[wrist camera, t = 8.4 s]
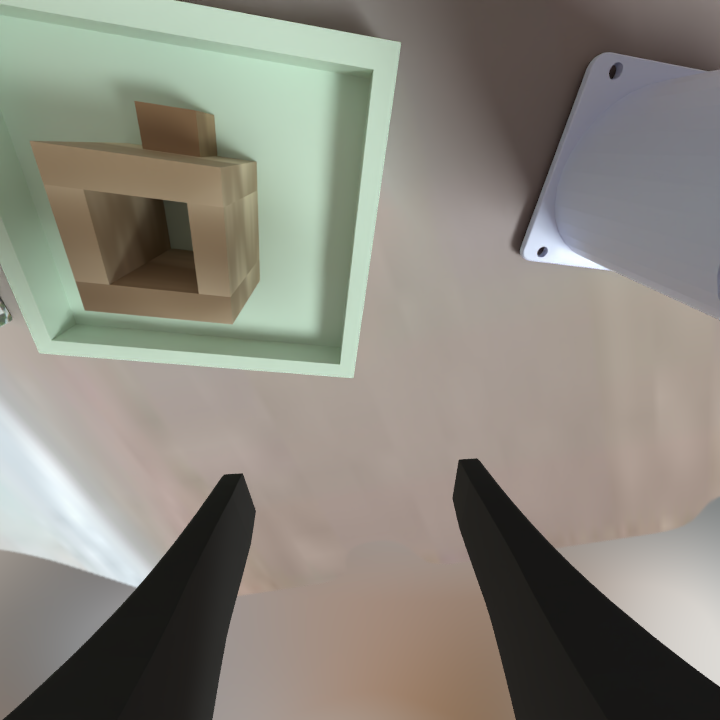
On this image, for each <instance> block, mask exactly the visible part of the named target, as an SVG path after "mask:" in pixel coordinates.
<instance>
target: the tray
mask: <svg viewBox="0 0 720 720" xmlns="http://www.w3.org/2000/svg"><path fill="white" fill-rule="evenodd" d="M400 48H401V42H397V41H391V40H386V39H381V38H375V37H370V36H364V35H359V34H354V33H348V32H343V31H337V30H332V29H327V28H321V27H316V26H311V25H305V24H300V23H294V22H289V21H284V20H278V19H273V18H267V17H262V16H257V15H251V14H246V13H241V12H235V11H230V10H224V9H219V8H214V7H208V6H203V5H197V4H192V3H187V2H181V1H176V0H0V264H1V267H2V269H3V271H4V273H5V276H6V278H7V280H8V283H9V285H10V287H11V289H12V292H13V294H14V296H15V299H16V301H17V303H18V305H19V308H20V310H21V312H22V315H23V317H24V319H25V321H26V324H27V326H28V328H29V331H30V333H31V335H32V337H33V340H34V342H35V344H36V347H37V349H38V351H39V353H42V354H55V355H67V356H80V357H93V358H105V359H118V360H130V361H143V362H156V363H168V364H181V365H193V366H206V367H219V368H231V369H244V370H257V371H269V372H282V373H294V374H307V375H320V376H332V377H345V378H353V377H354V370H355V363H356V356H357V349H358V342H359V335H360V328H361V321H362V314H363V307H364V300H365V293H366V286H367V279H368V272H369V265H370V258H371V251H372V244H373V237H374V230H375V223H376V216H377V209H378V202H379V195H380V188H381V181H382V174H383V167H384V160H385V153H386V146H387V139H388V132H389V125H390V118H391V111H392V104H393V97H394V90H395V83H396V76H397V69H398V62H399V55H400ZM134 101H139V102H145V103H152V104H158V105H164V106H171V107H177V108H184V109H190V110H196V111H200V112H204V113H208V114H212V115H214V119H215V131H216V143H217V156H221V157H228V158H235V159H242V160H249V161H256V162H257V190H258V225H259V260H260V281H259V283H258V285H257V286H256V288H255V289H254V291H253V293H252V294H251V296H250V297H249V299H248V301H247V302H246V304H245V305H244V307H243V309H242V310H241V312H240V313H239V315H238V317H237V318H236V320H235V321H234V323H233V324H223V323H212V322H201V321H191V320H180V319H170V318H159V317H148V316H138V315H127V314H116V313H106V312H95V311H85V310H84V307H83V304H82V300H81V297H80V294H79V291H78V288H77V285H76V282H75V279H74V276H73V273H72V270H71V267H70V264H69V261H68V258H67V255H66V252H65V248H64V245H63V242H62V239H61V236H60V233H59V230H58V227H57V224H56V221H55V218H54V215H53V212H52V209H51V206H50V203H49V200H48V197H47V193H46V190H45V187H44V184H43V181H42V178H41V175H40V172H39V169H38V166H37V163H36V160H35V157H34V154H33V151H32V148H31V145H30V141H61V142H109V143H130V144H137V145H142V141H141V136H140V130H139V124H138V119H137V113H136V108H135V102H134ZM163 202H164V208H165V214H166V220H167V227H168V233H169V239H170V245H171V248H172V249H180V250H189V251H193V246H192V238H191V230H190V223H189V215H188V207H187V203H184V202H176V201H169V200H163Z"/></svg>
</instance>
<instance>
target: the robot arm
mask: <svg viewBox="0 0 720 720" xmlns="http://www.w3.org/2000/svg"><path fill="white" fill-rule="evenodd" d="M612 65H615V67H616V73H615V75H614V77H613V78H612V79H610V77H609V71H610V69H611V67H612ZM541 247H544V250H543V252H542V253H541V254H540V255H537V251H538V250H539V249H540V248H541ZM520 255H521V256H522V258H524V259H525V260H528V261H535V262H544V263H552V264H560V265H568V266H576V267H585V268H593V269H601V270H609V271H614V272H616V273H618V274H620V275H622V276H625V277H627V278H629V279H631V280H633V281H636V282H638V283H640V284H642V285H644V286H646V287H649V288H651V289H653V290H655V291H657V292H660V293H662V294H664V295H666V296H668V297H670V298H673V299H675V300H677V301H679V302H681V303H684V304H686V305H688V306H690V307H692V308H694V309H697V310H699V311H701V312H703V313H705V314H707V315H710V316H712V317H714V318H716V319H718V320H720V69H719V70H714V71H704V70H699V69H694V68H689V67H684V66H679V65H673V64H668V63H663V62H658V61H653V60H648V59H643V58H638V57H633V56H627V55H622V54H617V53H612V52H605V53H602V54H600V55H598V56H596V57H595V58H594V59H593V60H592V61H591V62H590V63H589V65H588V67H587V70H586V72H585V75H584V78H583V80H582V83H581V86H580V88H579V91H578V94H577V97H576V99H575V102H574V105H573V107H572V110H571V113H570V115H569V118H568V121H567V124H566V126H565V129H564V132H563V134H562V137H561V140H560V142H559V145H558V148H557V151H556V153H555V156H554V159H553V161H552V164H551V167H550V169H549V172H548V175H547V178H546V180H545V183H544V186H543V188H542V191H541V194H540V197H539V199H538V202H537V205H536V207H535V210H534V213H533V215H532V218H531V221H530V224H529V226H528V229H527V232H526V234H525V237H524V240H523V242H522V245H521V248H520ZM453 502H454V507H455V511H456V516H457V520H458V524H459V528H460V531H461V534H462V537H463V540H464V543H465V546H466V549H467V552H468V554H469V557H470V560H471V563H472V566H473V569H474V571H475V574H476V577H477V580H478V583H479V586H480V589H481V591H482V594H483V597H484V600H485V602H486V606H487V609H488V612H489V615H490V619H491V622H492V626H493V630H494V634H495V637H496V641H497V645H498V649H499V652H500V656H501V660H502V664H503V668H504V672H505V676H506V680H507V685H508V689H509V692H510V697H511V701H512V705H513V709H514V713H515V718H516V720H720V687H719V686H718V685H717V684H715V683H714V682H712V681H711V680H709V679H708V678H707V677H705V676H704V675H703V674H701V673H700V672H699V671H697V670H696V669H695V668H693V667H692V666H691V665H689V664H688V663H687V662H685V661H684V660H683V659H682V658H680V657H679V656H678V655H676V654H675V653H674V652H672V651H671V650H670V649H669V648H668V647H666V646H665V645H663V644H662V643H661V642H660V641H659V640H657V639H656V638H655V637H653V636H652V635H651V634H650V633H649V632H647V631H646V630H645V629H644V628H643V627H641V626H640V625H639V624H638V623H637V622H635V621H634V620H633V619H632V618H631V617H629V616H628V615H627V614H626V613H624V612H623V611H622V610H621V609H620V608H619V607H617V606H616V605H615V604H614V603H613V602H611V601H610V600H609V599H608V598H607V597H606V596H605V595H604V594H602V593H601V592H600V591H599V590H598V589H597V588H596V587H595V586H594V585H592V584H591V583H590V582H589V581H588V580H587V579H586V578H585V577H584V576H583V575H582V574H581V573H579V572H578V571H577V570H576V569H575V568H574V567H573V566H572V565H571V564H570V563H569V562H568V561H567V560H566V559H565V558H564V557H563V556H562V555H561V554H560V553H559V552H558V551H557V550H556V549H555V548H554V547H553V546H552V545H551V544H550V543H549V542H548V541H547V540H546V539H545V538H544V537H543V535H542V534H541V533H540V532H539V531H538V530H537V529H536V528H535V527H534V526H533V525H532V524H531V522H530V521H529V520H528V519H527V518H526V517H525V516H524V514H523V513H522V512H521V511H520V510H519V509H518V508H517V506H516V505H515V504H514V503H513V502H512V501H511V499H510V498H509V497H508V496H507V495H506V493H505V492H504V491H503V490H502V489H501V487H500V486H499V485H498V484H497V482H496V481H495V480H494V479H493V477H492V476H491V475H490V474H489V472H488V471H487V470H486V468H485V467H484V466H483V464H482V463H481V462H480V461H479V460H478V459H462V460H459V462H458V468H457V474H456V480H455V486H454V492H453ZM255 512H256V510H255V508H254V505H253V502H252V499H251V496H250V493H249V490H248V487H247V484H246V482H245V479H244V476H243V473H242V474H227V475H224V476H223V477H222V478H221V479H220V481H219V482H218V483H217V485H216V486H215V488H214V489H213V491H212V492H211V493H210V495H209V496H208V498H207V499H206V501H205V502H204V503H203V505H202V506H201V508H200V509H199V510H198V512H197V513H196V515H195V516H194V517H193V519H192V520H191V521H190V523H189V524H188V525H187V527H186V528H185V529H184V531H183V532H182V533H181V535H180V536H179V537H178V539H177V540H176V541H175V543H174V544H173V545H172V546H171V548H170V549H169V550H168V551H167V553H166V554H165V555H164V556H163V557H162V559H161V560H160V561H159V562H158V564H157V565H156V566H155V567H154V569H153V570H152V571H151V572H150V573H149V575H148V576H147V577H146V578H145V579H144V580H143V582H142V583H141V584H140V585H139V586H138V587H137V589H136V590H135V591H134V592H133V593H132V594H131V595H130V596H129V598H128V599H127V600H126V601H125V602H124V603H123V604H122V605H121V607H119V608H118V609H117V611H116V612H115V613H114V614H113V615H112V616H111V617H110V618H109V619H108V620H107V621H106V622H105V623H104V624H103V625H102V626H101V627H100V628H99V629H98V630H97V632H95V634H94V635H93V636H92V637H91V638H90V639H89V640H88V641H87V642H86V643H85V644H84V645H83V646H82V647H81V648H80V649H79V650H78V651H77V652H76V653H74V654H73V655H72V656H71V657H70V658H69V659H68V660H67V661H66V662H65V663H64V664H63V665H62V666H61V667H60V668H59V669H58V670H57V671H55V672H54V673H53V674H52V675H51V676H50V677H49V678H48V679H47V680H46V681H45V682H44V683H43V684H42V685H41V686H39V687H38V688H37V689H36V690H35V691H34V692H33V693H32V694H31V695H30V696H29V697H28V698H27V699H25V700H24V701H23V702H22V703H21V704H20V705H19V706H18V707H17V708H16V709H15V710H13V711H12V712H11V713H10V714H9V715H7V717H5V718H4V719H3V720H212V718H213V712H214V706H215V699H216V694H217V688H218V682H219V676H220V670H221V665H222V659H223V654H224V648H225V643H226V637H227V633H228V629H229V624H230V620H231V616H232V613H233V609H234V605H235V601H236V598H237V594H238V590H239V587H240V583H241V579H242V575H243V572H244V568H245V564H246V560H247V556H248V553H249V549H250V545H251V539H252V533H253V527H254V520H255Z"/></svg>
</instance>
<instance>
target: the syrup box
mask: <svg viewBox="0 0 720 720" xmlns="http://www.w3.org/2000/svg"><path fill="white" fill-rule="evenodd" d="M11 320H12V317H11V315H10V314H9V312H8V310H7V309H6V307H5V305H4V304H3V302H2V300H1V299H0V327H1V326H3V325H5V324H6V323H8V322H10V321H11Z"/></svg>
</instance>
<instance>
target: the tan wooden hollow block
mask: <svg viewBox="0 0 720 720" xmlns="http://www.w3.org/2000/svg"><path fill="white" fill-rule="evenodd" d="M134 102H135V108H136V113H137V119H138V124H139V130H140V136H141V141H142V145H137V144H130V143H109V142H61V141H30V145H31V148H32V151H33V154H34V157H35V160H36V163H37V166H38V169H39V172H40V175H41V178H42V181H43V184H44V187H45V190H46V193H47V197H48V200H49V203H50V206H51V209H52V212H53V215H54V218H55V221H56V224H57V227H58V230H59V233H60V236H61V239H62V242H63V245H64V248H65V252H66V255H67V258H68V261H69V264H70V267H71V270H72V273H73V276H74V279H75V282H76V285H77V288H78V291H79V294H80V297H81V300H82V304H83V307H84V310H85V311H95V312H106V313H116V314H127V315H138V316H148V317H159V318H170V319H180V320H191V321H201V322H212V323H223V324H233V323H234V321H235V320H236V318H237V317H238V315H239V313H240V312H241V310H242V309H243V307H244V305H245V304H246V302H247V301H248V299H249V297H250V296H251V294H252V293H253V291H254V289H255V288H256V286H257V285H258V283H259V281H260V260H259V225H258V190H257V162H256V161H249V160H242V159H235V158H228V157H221V156H217V143H216V131H215V119H214V115H212V114H208V113H204V112H200V111H196V110H190V109H184V108H177V107H171V106H164V105H158V104H152V103H145V102H139V101H134ZM163 200H169V201H176V202H184V203H187V207H188V215H189V223H190V230H191V238H192V246H193V251H189V250H180V249H172V248H171V245H170V239H169V233H168V227H167V220H166V214H165V208H164V202H163Z"/></svg>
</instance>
